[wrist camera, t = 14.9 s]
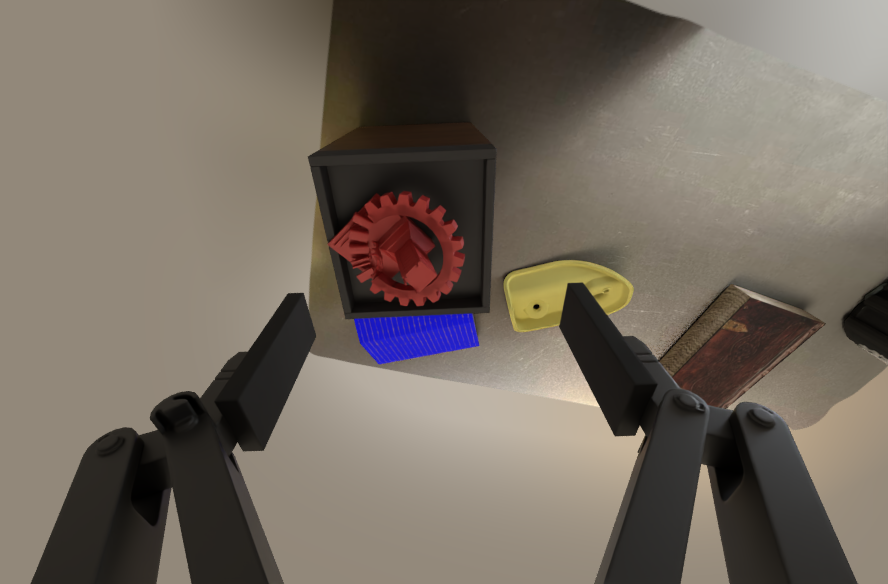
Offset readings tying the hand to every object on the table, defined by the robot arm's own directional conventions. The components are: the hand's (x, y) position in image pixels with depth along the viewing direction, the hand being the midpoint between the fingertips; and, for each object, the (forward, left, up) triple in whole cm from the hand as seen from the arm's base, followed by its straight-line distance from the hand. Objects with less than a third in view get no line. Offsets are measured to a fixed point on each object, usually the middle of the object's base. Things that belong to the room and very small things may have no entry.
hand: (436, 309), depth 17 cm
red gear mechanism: (+3, -4, -17) cm, 18 cm away
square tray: (+3, -3, -18) cm, 19 cm away
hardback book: (+40, +56, -38) cm, 79 cm away
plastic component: (+23, +21, -38) cm, 50 cm away
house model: (+26, -5, -38) cm, 47 cm away
